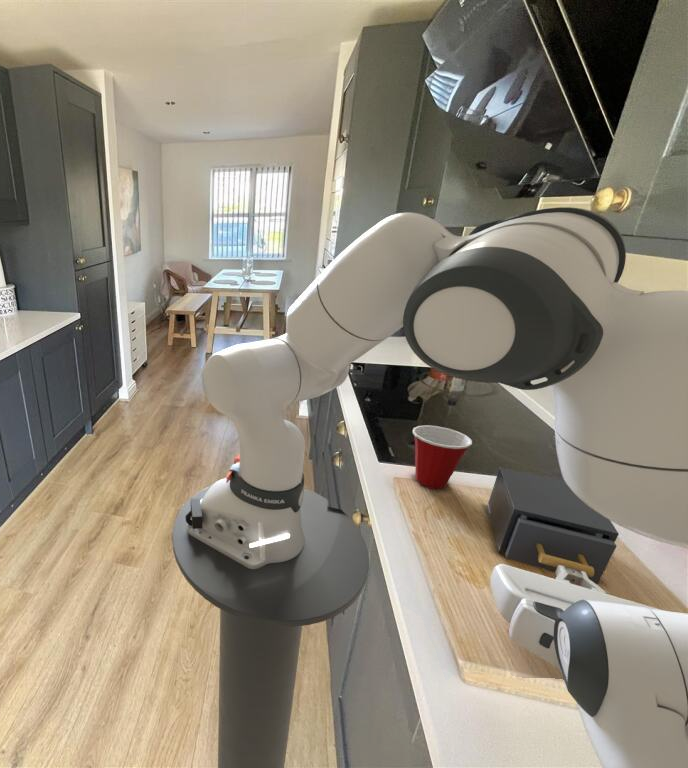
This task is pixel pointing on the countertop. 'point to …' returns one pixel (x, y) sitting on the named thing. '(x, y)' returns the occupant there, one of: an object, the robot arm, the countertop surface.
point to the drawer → (559, 547)
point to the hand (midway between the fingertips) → (569, 571)
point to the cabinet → (539, 506)
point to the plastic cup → (437, 454)
